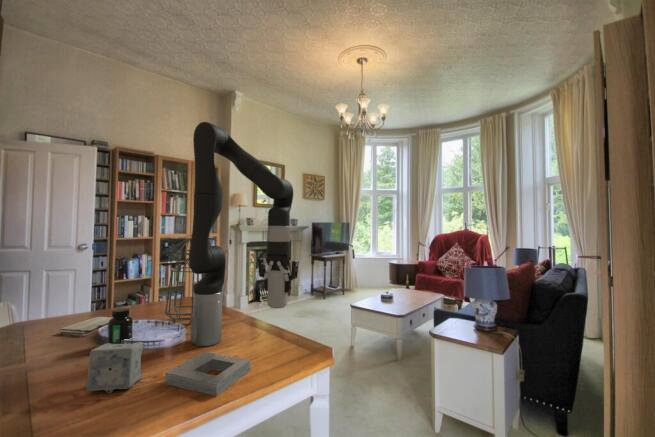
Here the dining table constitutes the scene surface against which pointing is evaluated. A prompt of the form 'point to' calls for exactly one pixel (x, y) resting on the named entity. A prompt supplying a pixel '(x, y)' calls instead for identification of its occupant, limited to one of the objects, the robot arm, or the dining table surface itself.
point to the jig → (196, 368)
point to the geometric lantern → (178, 279)
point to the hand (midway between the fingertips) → (277, 291)
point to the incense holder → (114, 366)
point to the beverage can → (276, 289)
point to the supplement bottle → (120, 326)
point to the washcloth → (85, 326)
